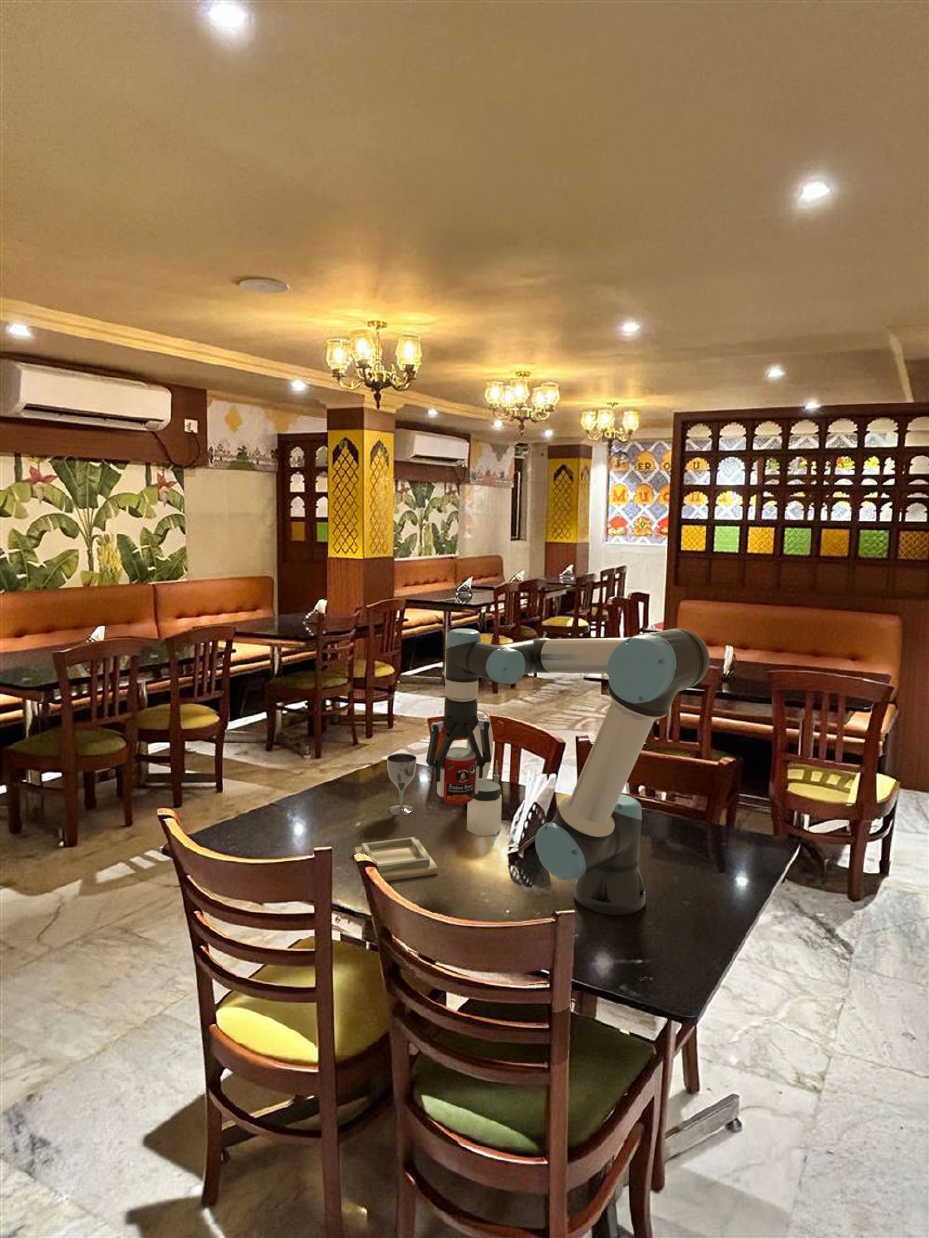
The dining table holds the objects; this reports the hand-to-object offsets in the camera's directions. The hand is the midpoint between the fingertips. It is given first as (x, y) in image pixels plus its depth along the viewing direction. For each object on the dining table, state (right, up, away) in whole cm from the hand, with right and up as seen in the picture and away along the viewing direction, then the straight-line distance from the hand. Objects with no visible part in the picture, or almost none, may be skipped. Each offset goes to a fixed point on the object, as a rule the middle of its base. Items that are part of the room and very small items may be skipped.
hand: (457, 792), depth 186 cm
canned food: (0, -1, 0) cm, 1 cm away
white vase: (+6, -12, +43) cm, 45 cm away
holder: (-15, -17, +3) cm, 23 cm away
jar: (+7, -15, +23) cm, 29 cm away
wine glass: (-16, -13, +35) cm, 41 cm away
